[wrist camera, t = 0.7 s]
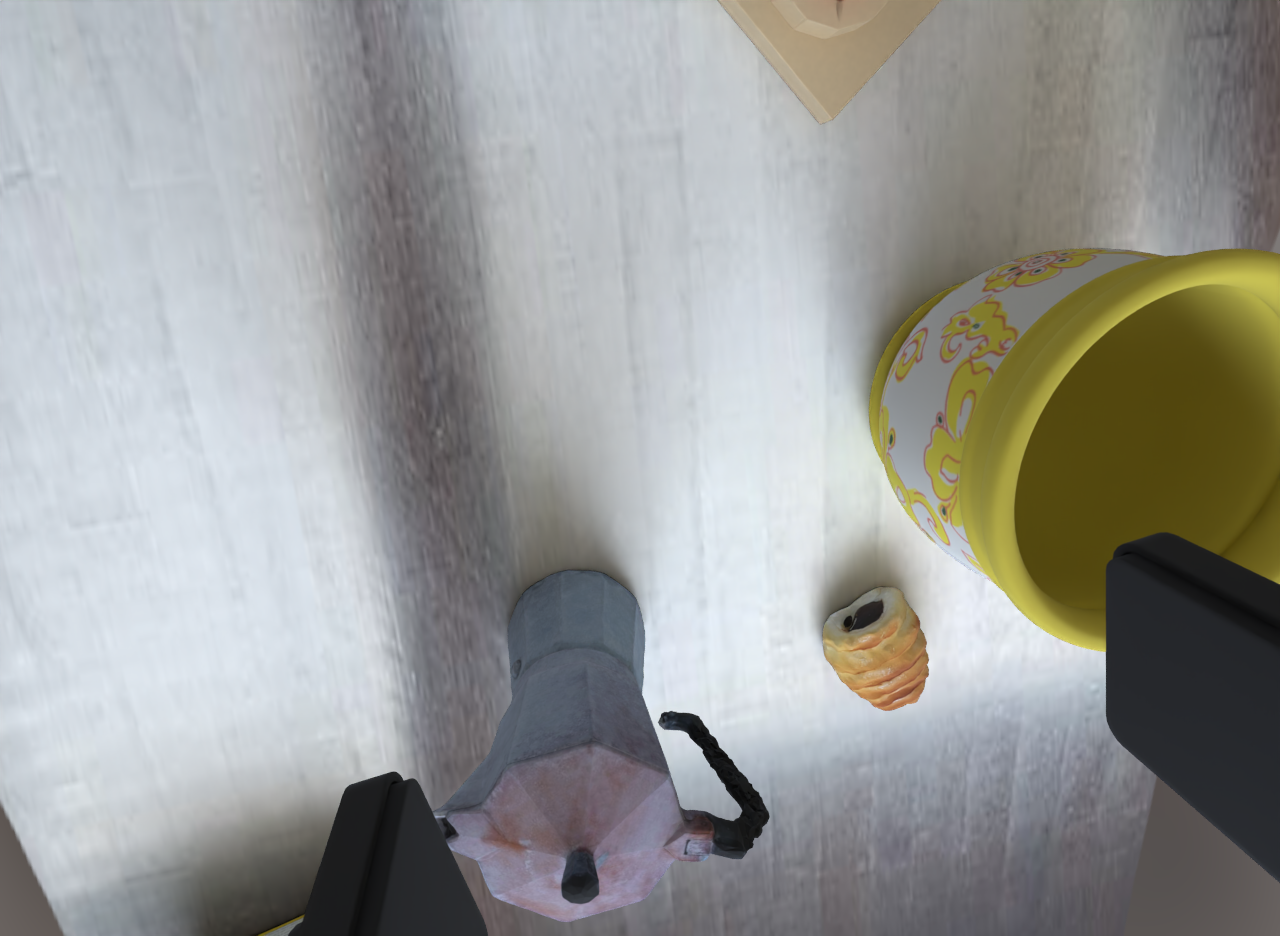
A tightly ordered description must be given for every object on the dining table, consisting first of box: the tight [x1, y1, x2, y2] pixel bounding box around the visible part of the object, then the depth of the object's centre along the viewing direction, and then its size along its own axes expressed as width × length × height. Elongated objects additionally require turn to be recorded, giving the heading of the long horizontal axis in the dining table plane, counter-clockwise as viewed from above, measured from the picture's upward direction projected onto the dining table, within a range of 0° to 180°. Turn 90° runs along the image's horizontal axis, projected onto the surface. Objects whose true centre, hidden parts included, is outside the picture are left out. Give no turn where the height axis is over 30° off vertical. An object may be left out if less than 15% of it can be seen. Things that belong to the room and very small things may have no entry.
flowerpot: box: [869, 248, 1280, 652], centre depth 37 cm, size 18×18×16 cm
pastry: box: [822, 587, 929, 711], centre depth 48 cm, size 9×7×4 cm
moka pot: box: [432, 570, 770, 922], centre depth 37 cm, size 10×15×20 cm, turn 86°
